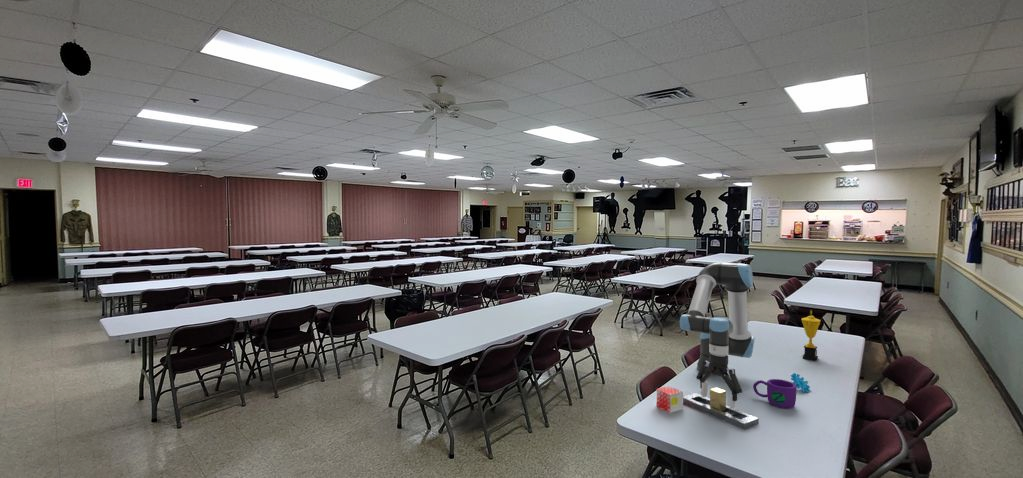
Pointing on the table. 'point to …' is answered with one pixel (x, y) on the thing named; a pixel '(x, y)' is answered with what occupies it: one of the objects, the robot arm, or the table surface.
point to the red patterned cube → (670, 399)
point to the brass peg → (718, 399)
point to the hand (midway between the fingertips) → (718, 402)
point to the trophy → (810, 336)
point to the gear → (800, 382)
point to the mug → (779, 392)
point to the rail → (728, 416)
